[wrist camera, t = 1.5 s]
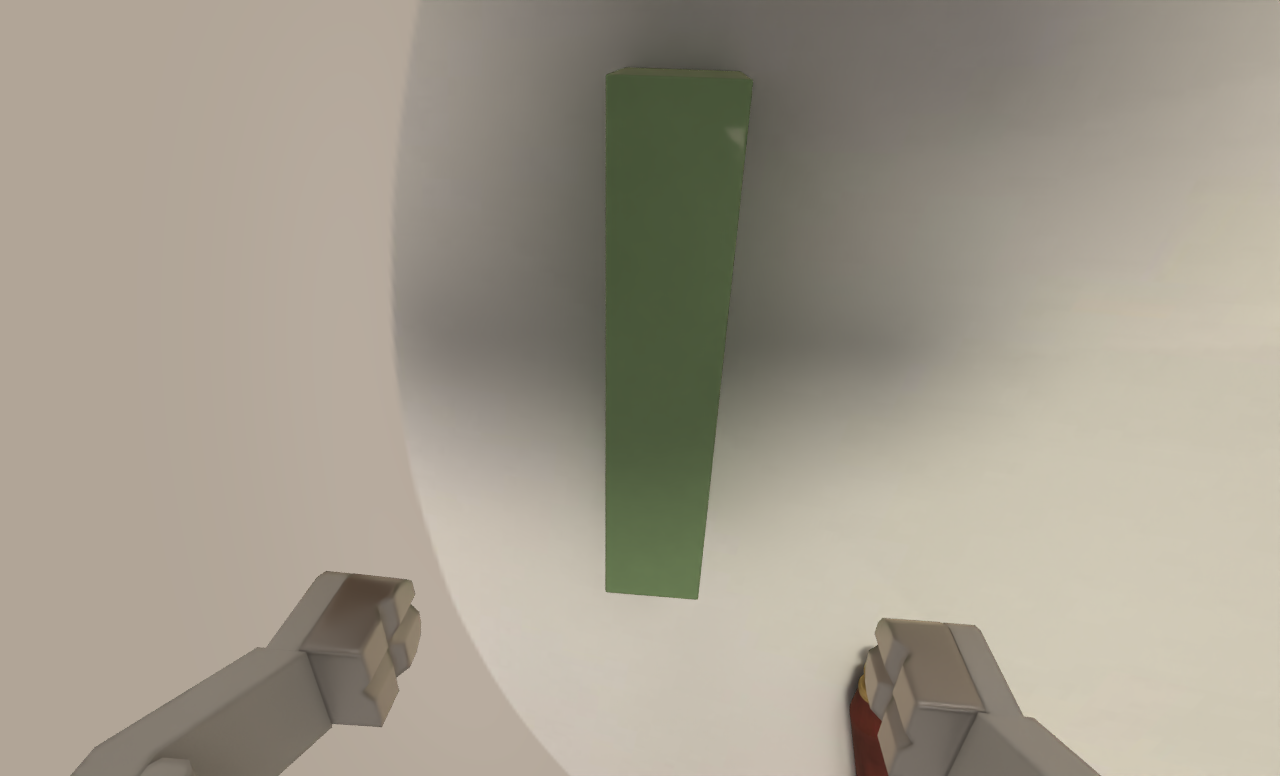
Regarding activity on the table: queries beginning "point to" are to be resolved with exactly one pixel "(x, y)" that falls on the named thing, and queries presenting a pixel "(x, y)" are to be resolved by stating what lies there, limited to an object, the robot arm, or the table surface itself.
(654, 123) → the bar
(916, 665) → the robot arm
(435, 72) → the table surface
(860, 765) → the gavel
